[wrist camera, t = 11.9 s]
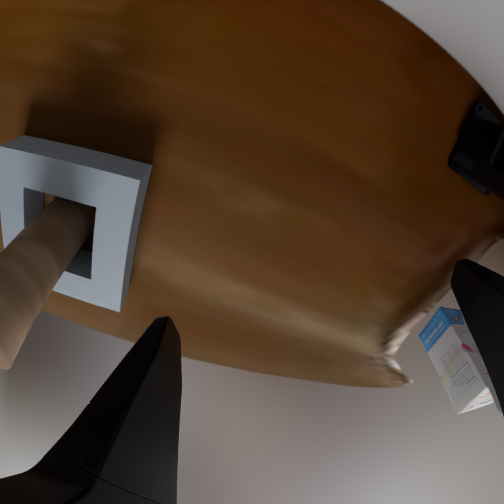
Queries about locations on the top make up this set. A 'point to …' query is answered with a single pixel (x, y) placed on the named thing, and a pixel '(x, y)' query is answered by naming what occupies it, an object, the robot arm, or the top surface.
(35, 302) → the walnut dowel
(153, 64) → the top surface
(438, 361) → the ink box
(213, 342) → the top surface
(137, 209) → the grey socket block
